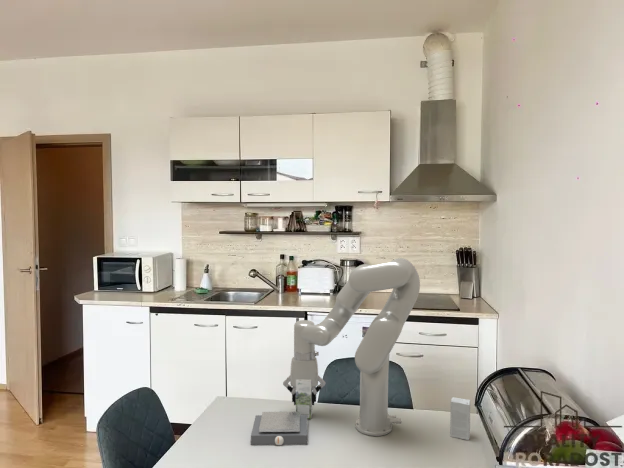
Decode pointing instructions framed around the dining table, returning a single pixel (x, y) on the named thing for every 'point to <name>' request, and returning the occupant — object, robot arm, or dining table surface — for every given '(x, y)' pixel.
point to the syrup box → (304, 397)
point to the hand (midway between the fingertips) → (304, 403)
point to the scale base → (279, 434)
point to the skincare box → (460, 418)
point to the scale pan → (280, 422)
